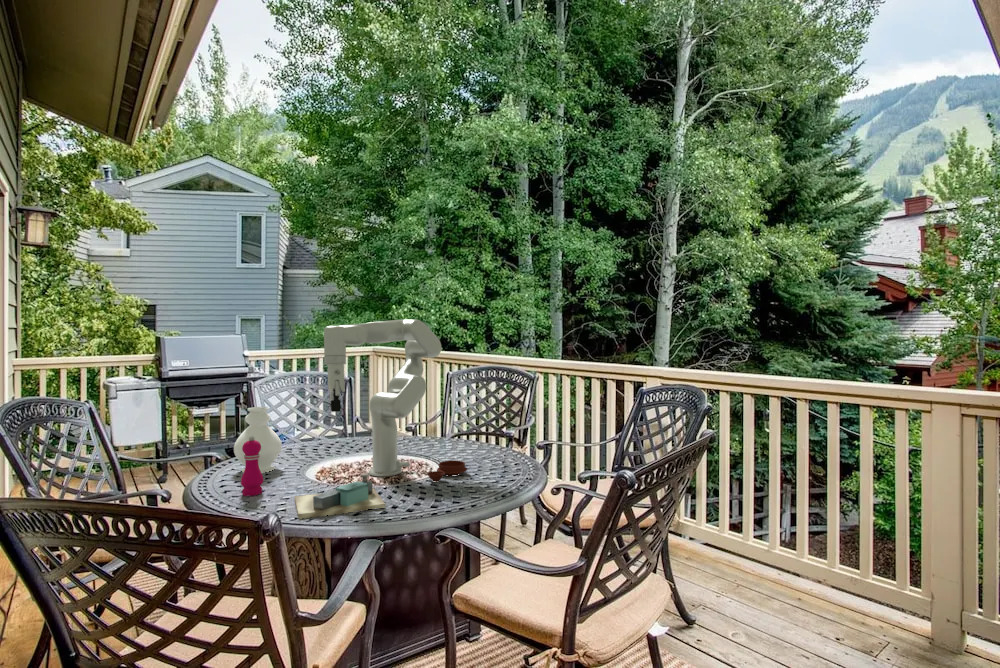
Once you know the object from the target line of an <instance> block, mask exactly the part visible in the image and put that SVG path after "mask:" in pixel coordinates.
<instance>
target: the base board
mask: <svg viewBox="0 0 1000 668" xmlns="http://www.w3.org/2000/svg"><path fill="white" fill-rule="evenodd" d="M369 477H370V474H369V473H362V474H361V473H360V478H361V481H362V482H363V483H366V482H367V481H368V478H369ZM323 493H324V492H323ZM323 493H321V492H320V493H316V494H305V495H304V494H303V495H296V496H294V504H295V509H296V513H297V514H296V515H297V518H299V519H298V520H302V518H304V519H311V518H310V517H312V518H318V517H317V516H320V517H328V516H335V514H336V515H342V513H344V514H349V513H348V512H353V513H356V512H355V511H361V510H368V509H375V508H383V507H385V508H386V503H385V501H384V500H383V498H382V497H381V496H380V494H379V493H378V492H377V490H376V488H374V487H373V493H372V494H369V495H368V499H367V500H364V501H361V502H358V503H355V504H353V505H350V506H343V505H340V504H338V505H335V506H332V507H330V508H327V509H324V510H320V509H316V508H313V497H314V496H317V495H320V494H323ZM361 512H362V511H361ZM327 515H328V516H327Z"/></svg>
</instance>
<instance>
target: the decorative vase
mask: <svg viewBox="0 0 1000 668" xmlns="http://www.w3.org/2000/svg"><path fill="white" fill-rule="evenodd" d="M267 410H269V409H268V406H255V407H254V406H253V407H248V408H247V412H249V413H248V414H246V416H245V417H244V421H245V422H246V424H248V426H247V427H246V428H245V429H244V430H243V431H242V433H241V434H240V435H239V436H238V437H237V438H236V441H235V443H234V445H233V453H234V456H235V457H236V458H237V460H238V461H239V462H240V463H241V464H242V465H243V466H244V468H242V469H241V470H240V471H242V472H244V471H245V467H246V461H245V459H244V455H245V453H244V452H243V451H242V447H243V445H244V443H245V442H247V441H250V440H249V437H250V436H254V440H256V441H258V442H259V443H260V444H261V450H260V452H259V454H260V455H259V457H260V458H259V459H258V465H259V469H260V471H261V473H262V474H265V472H267V473H270V472H269V471H271V472H273V471H275V470H274V469H276V467H275V466H274V465H273V463H274V461H275V460H276V459H277V458H278V456H279V455H280V454H281V451H282V448H283V447H282V446H283V444H282V440H281V439H280V437H279V435H278V434H277V433H276V432H275V431H274V430H273V428H271V427H270V426H269V425H267V424H268V422H269V421H270V420H271V415H270V414H269V413H268V412H267ZM272 470H273V471H272ZM242 472H241V473H242Z"/></svg>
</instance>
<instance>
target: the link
mask: <svg viewBox="0 0 1000 668" xmlns="http://www.w3.org/2000/svg"><path fill="white" fill-rule="evenodd" d="M359 482H362V480H361V481H359ZM366 483H368V495H369V494H372V493H373V488H374V487H373V486H374V485H373V481H372V480H367V482H366ZM319 494H320V495H317V496H314V497H313V508H316V509H320V510H324V509H327V508H330V507H332V506H335V505H338V504H340V492H339V491H336V489H333V490H330V491H327V492H323V494H321V493H319Z"/></svg>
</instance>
